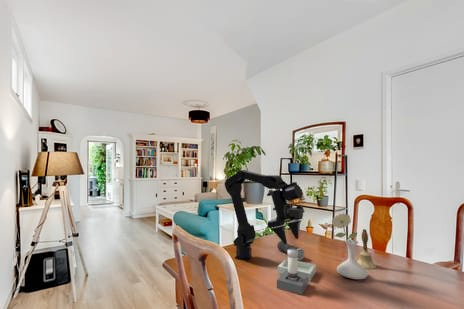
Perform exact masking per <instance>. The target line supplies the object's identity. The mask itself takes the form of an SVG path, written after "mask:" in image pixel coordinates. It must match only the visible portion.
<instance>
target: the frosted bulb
mask: <svg viewBox="0 0 464 309" xmlns="http://www.w3.org/2000/svg"><path fill="white" fill-rule="evenodd" d="M286 254H287V256H286V257H287V259H288V280H291V281H295V282H297V281H298V261H299V260H298V258H297V257H298V250H296V249H288V250H287V253H286Z"/></svg>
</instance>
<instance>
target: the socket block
mask: <svg viewBox="0 0 464 309" xmlns="http://www.w3.org/2000/svg"><path fill="white" fill-rule="evenodd" d="M308 285H309V281H308V276H305V275H301V274H298V281H297V282H295V281H291V280H288V271H284V272H283V274H282V275H281V274H280V276H279V277H278V278H277V279H276V289H279V290H282V291H286V292H289V293H293V294H297V295H300V296H302V295H303V294H304V292H305V290H306V288H307V287H308Z"/></svg>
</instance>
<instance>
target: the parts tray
mask: <svg viewBox="0 0 464 309" xmlns="http://www.w3.org/2000/svg"><path fill="white" fill-rule="evenodd" d="M316 268H317V264H315V263H311V262H310V263H309V262H304V261H301V260H298V274H301V275H305V276H308V283H309V282H311V281H312V279H313V277H314V276H315V274H316V273H317V272H316V271H317V269H316ZM284 271H288V258H285V259H284V260H283V261H282V262H280V263H279V265H277V275H280V276H281V275H282V274H283V272H284Z"/></svg>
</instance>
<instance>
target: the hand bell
mask: <svg viewBox="0 0 464 309" xmlns="http://www.w3.org/2000/svg"><path fill="white" fill-rule="evenodd" d="M368 240H369V234H368V232H367V229H364V228H363V229H362V232H361V242H362V247H363V248H362V249H363V250H362V251H360V252H359V257H358V260H356V261H357V263H359V264H360V265H361V266H362V267H363V268H364V269H365V270H375V269H377V265H376V264H375V263H374V261H373V258H372V254H371V253H370V252H369V251H368Z"/></svg>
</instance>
